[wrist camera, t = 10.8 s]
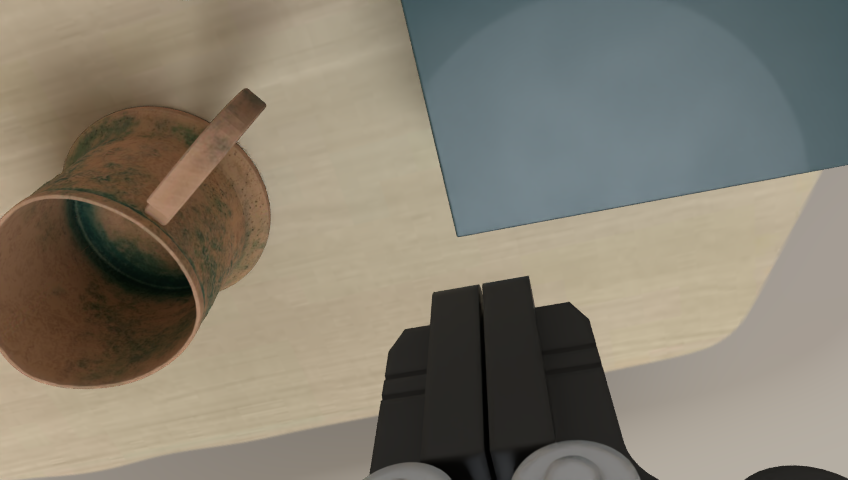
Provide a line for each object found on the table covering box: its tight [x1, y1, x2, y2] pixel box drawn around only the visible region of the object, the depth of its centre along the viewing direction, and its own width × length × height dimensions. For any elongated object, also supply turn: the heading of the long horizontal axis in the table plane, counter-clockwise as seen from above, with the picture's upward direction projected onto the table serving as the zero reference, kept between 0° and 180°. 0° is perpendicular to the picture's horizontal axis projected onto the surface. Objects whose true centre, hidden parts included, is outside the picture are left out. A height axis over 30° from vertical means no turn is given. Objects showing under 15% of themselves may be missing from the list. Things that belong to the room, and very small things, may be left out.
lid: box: [401, 0, 848, 237], centre depth 24 cm, size 16×12×1 cm
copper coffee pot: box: [0, 88, 270, 389], centre depth 33 cm, size 12×18×12 cm, turn 137°
